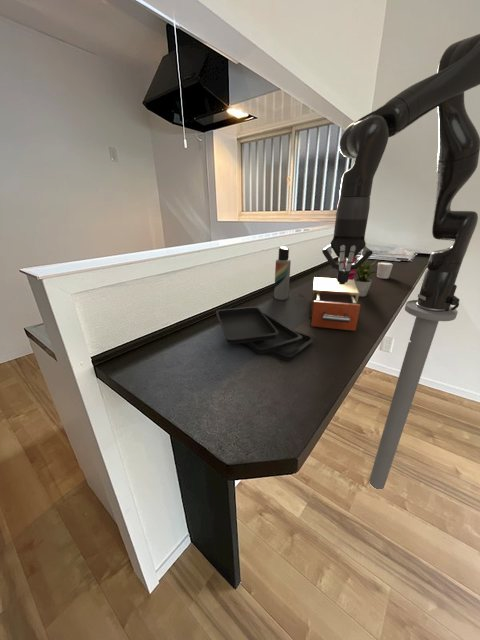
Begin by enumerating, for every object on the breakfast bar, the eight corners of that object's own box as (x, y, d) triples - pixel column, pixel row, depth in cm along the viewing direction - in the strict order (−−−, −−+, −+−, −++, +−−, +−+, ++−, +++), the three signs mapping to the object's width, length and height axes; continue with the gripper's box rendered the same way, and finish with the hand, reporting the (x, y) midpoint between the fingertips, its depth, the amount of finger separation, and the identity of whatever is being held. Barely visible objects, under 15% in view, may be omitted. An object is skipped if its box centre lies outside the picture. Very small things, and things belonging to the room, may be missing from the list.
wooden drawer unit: (357, 338, 73) (362, 311, 69) (310, 333, 76) (313, 307, 73) (350, 312, 90) (354, 290, 86) (312, 309, 93) (314, 287, 90)
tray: (320, 336, 76) (322, 319, 74) (290, 378, 58) (291, 358, 56) (233, 315, 90) (233, 301, 88) (187, 344, 72) (185, 327, 70)
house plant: (331, 291, 114) (337, 252, 108) (356, 287, 119) (362, 250, 113) (356, 301, 102) (364, 259, 96) (382, 296, 107) (391, 256, 101)
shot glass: (380, 279, 131) (383, 265, 129) (372, 275, 138) (375, 262, 135) (393, 278, 132) (396, 264, 129) (385, 275, 138) (388, 261, 135)
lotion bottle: (281, 294, 111) (283, 245, 102) (291, 298, 106) (294, 247, 98) (271, 297, 107) (273, 247, 99) (281, 301, 103) (284, 249, 95)
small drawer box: (353, 322, 85) (359, 293, 81) (309, 317, 88) (312, 289, 84) (349, 305, 98) (353, 279, 95) (311, 302, 102) (314, 277, 98)
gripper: (324, 217, 64) (317, 286, 72) (383, 217, 61) (369, 289, 68) (324, 216, 71) (317, 278, 78) (377, 215, 68) (365, 281, 75)
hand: (341, 283), depth 73 cm, fingers closed
